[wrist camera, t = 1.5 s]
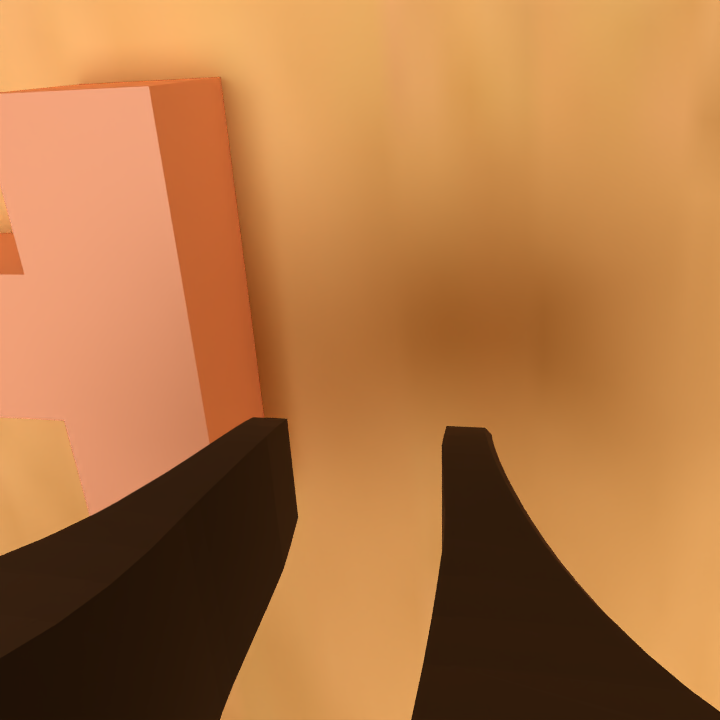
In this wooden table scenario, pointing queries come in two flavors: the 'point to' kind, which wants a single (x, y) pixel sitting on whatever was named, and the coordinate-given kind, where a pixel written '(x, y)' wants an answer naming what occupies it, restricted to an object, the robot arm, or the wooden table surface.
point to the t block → (124, 276)
